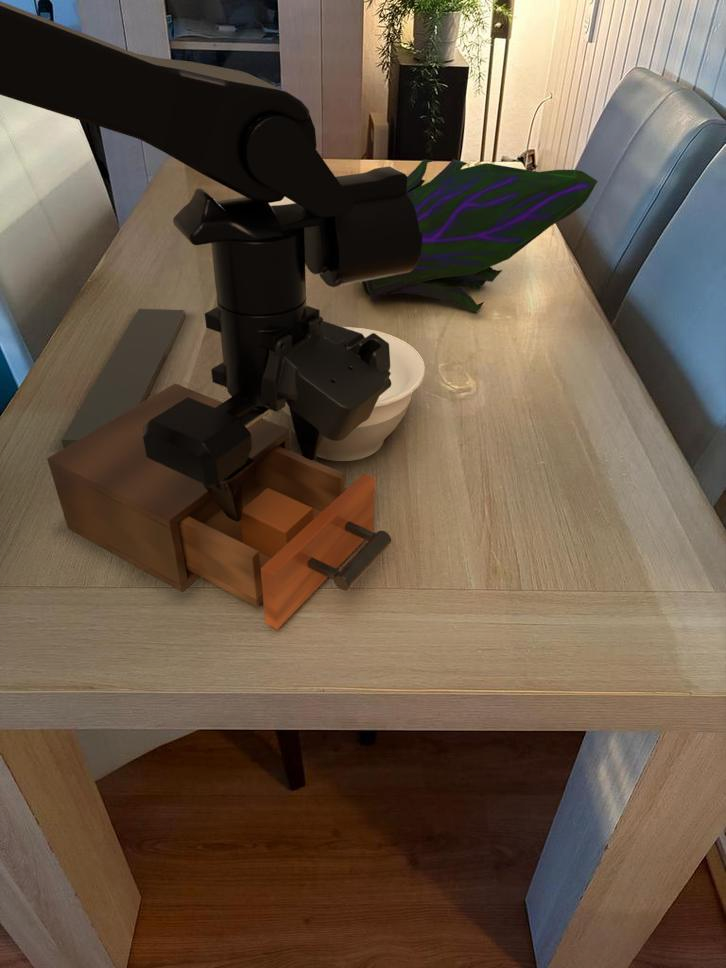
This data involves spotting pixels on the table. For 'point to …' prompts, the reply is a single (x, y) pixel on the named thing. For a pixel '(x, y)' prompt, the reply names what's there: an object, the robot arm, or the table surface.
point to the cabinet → (139, 488)
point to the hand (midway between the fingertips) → (273, 486)
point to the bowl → (377, 404)
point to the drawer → (307, 556)
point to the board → (127, 371)
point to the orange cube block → (273, 521)
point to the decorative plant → (479, 224)
